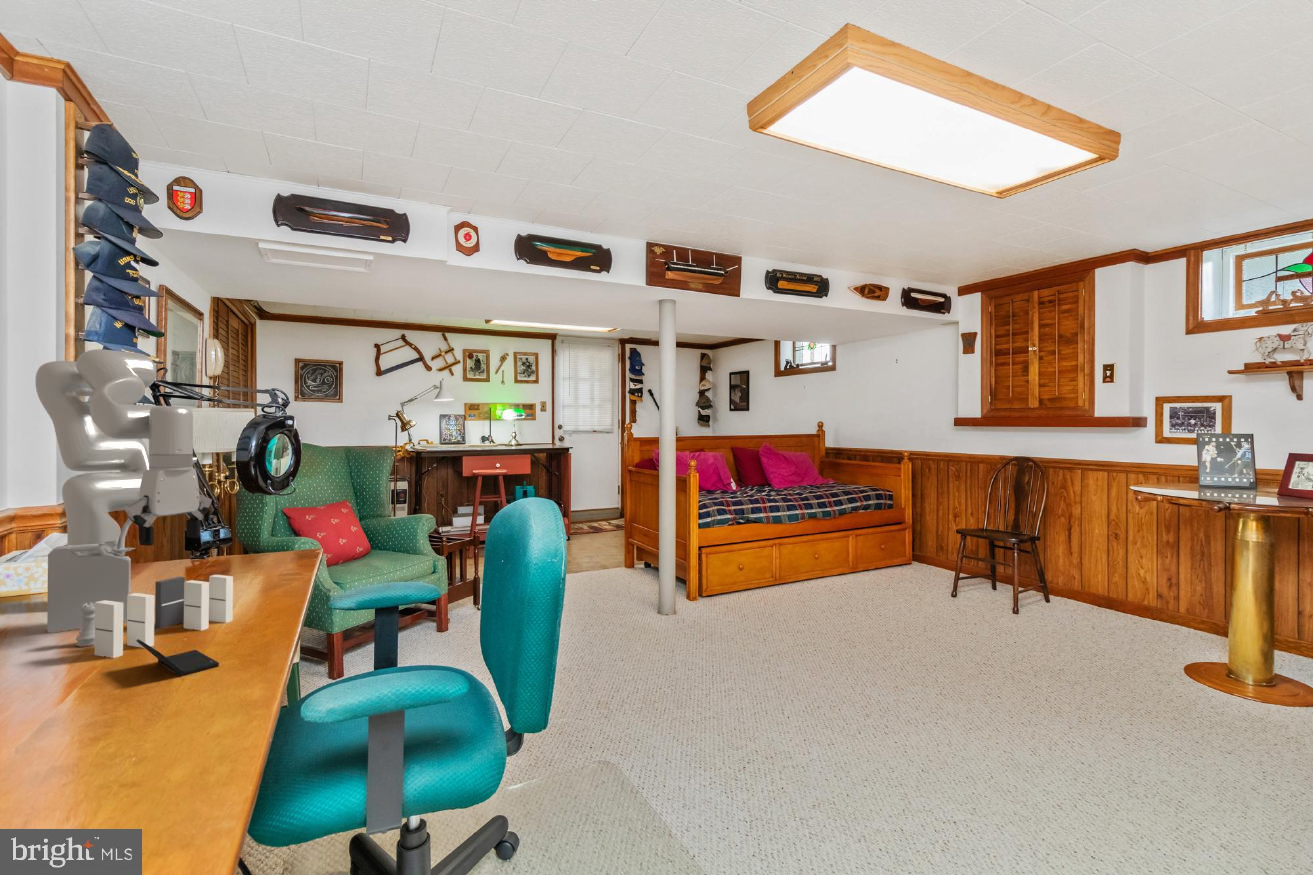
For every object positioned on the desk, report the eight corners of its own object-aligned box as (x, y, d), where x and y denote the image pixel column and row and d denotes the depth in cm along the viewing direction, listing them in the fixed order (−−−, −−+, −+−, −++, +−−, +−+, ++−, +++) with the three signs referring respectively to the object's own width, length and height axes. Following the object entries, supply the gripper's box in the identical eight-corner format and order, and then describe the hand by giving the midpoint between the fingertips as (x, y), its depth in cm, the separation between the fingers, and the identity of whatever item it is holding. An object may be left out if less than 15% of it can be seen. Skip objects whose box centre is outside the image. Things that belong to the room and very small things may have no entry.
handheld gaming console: (231, 654, 113) (191, 620, 108) (199, 690, 108) (155, 656, 102) (195, 652, 118) (155, 620, 113) (163, 686, 113) (119, 654, 107)
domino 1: (104, 651, 117) (104, 600, 117) (123, 655, 115) (123, 602, 115) (94, 654, 115) (94, 602, 115) (113, 658, 114) (113, 604, 114)
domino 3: (155, 627, 131) (155, 581, 131) (179, 621, 136) (179, 576, 136) (160, 628, 130) (161, 582, 130) (184, 621, 135) (184, 577, 135)
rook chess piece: (87, 648, 118) (87, 607, 118) (69, 646, 119) (69, 605, 119) (111, 640, 123) (112, 601, 123) (94, 638, 124) (94, 599, 124)
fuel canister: (145, 615, 139) (146, 506, 139) (143, 620, 135) (144, 508, 135) (52, 627, 130) (52, 510, 130) (47, 633, 126) (48, 513, 126)
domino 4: (191, 625, 133) (191, 580, 133) (208, 628, 131) (209, 582, 131) (183, 628, 131) (184, 581, 131) (201, 630, 130) (201, 583, 130)
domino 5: (215, 618, 138) (216, 574, 138) (232, 620, 137) (233, 576, 136) (208, 620, 136) (209, 576, 136) (225, 622, 135) (226, 578, 135)
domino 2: (135, 642, 122) (136, 592, 122) (154, 645, 121) (154, 595, 121) (126, 645, 121) (127, 594, 120) (145, 648, 119) (145, 597, 119)
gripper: (198, 460, 142) (197, 534, 142) (113, 464, 125) (113, 547, 125) (222, 461, 140) (222, 535, 140) (140, 465, 123) (139, 549, 123)
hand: (170, 541), depth 133 cm, fingers open, 9 cm apart
